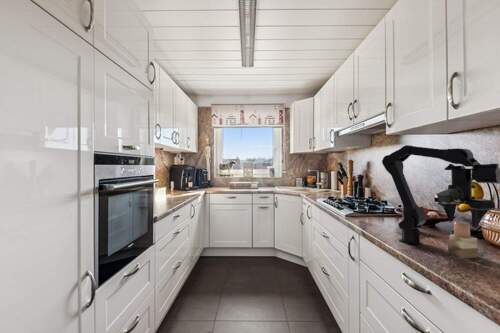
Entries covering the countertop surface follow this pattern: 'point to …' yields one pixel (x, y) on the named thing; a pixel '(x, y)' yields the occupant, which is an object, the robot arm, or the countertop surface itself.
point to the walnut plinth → (463, 251)
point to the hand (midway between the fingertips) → (462, 224)
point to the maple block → (463, 242)
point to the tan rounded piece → (462, 229)
